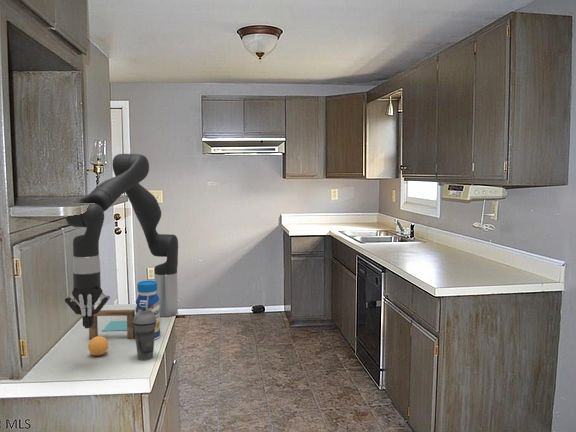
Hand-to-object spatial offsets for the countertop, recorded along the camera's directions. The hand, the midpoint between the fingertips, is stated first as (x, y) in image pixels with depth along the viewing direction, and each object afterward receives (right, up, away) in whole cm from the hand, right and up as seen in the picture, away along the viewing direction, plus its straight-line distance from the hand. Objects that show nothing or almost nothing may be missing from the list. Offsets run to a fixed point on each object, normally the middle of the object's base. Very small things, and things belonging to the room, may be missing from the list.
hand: (88, 327), depth 144 cm
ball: (-1, -8, +10) cm, 13 cm away
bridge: (-2, -10, +26) cm, 28 cm away
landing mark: (-3, -9, +40) cm, 41 cm away
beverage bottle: (+10, -10, +27) cm, 30 cm away
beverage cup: (+15, -12, +8) cm, 20 cm away
